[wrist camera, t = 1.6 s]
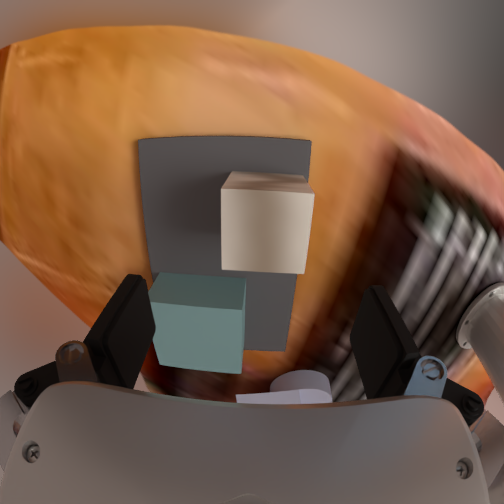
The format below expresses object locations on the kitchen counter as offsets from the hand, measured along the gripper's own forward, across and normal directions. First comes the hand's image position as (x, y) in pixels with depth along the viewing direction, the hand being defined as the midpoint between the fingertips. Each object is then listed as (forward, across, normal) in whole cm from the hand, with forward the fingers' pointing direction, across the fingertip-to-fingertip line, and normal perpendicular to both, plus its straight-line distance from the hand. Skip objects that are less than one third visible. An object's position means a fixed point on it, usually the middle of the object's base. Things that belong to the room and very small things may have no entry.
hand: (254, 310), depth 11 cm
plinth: (+14, +5, +12) cm, 20 cm away
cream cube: (+14, -1, 0) cm, 14 cm away
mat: (+15, +3, +6) cm, 17 cm away
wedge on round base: (+15, -6, +28) cm, 33 cm away
